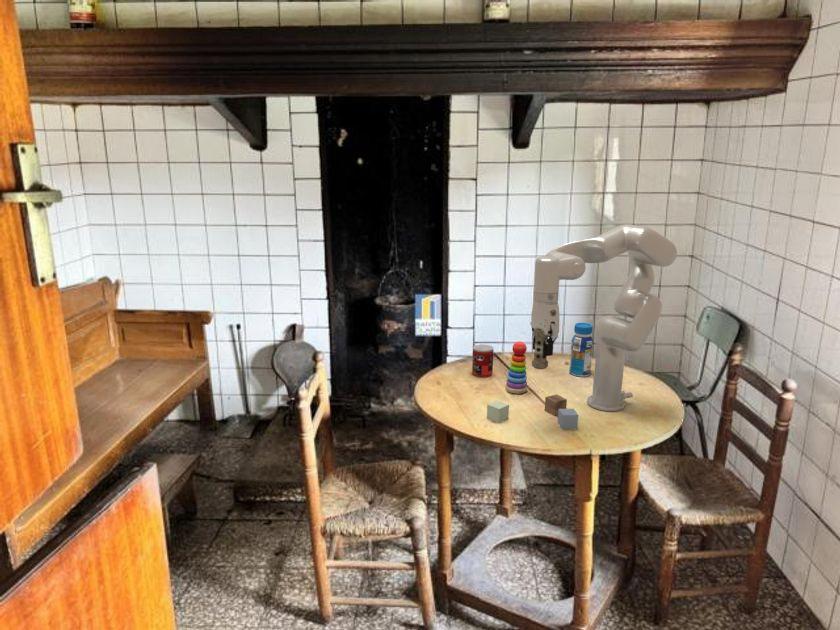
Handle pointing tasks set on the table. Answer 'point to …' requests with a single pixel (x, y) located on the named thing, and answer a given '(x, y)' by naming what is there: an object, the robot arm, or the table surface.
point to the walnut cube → (554, 404)
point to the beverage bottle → (581, 350)
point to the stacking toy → (517, 370)
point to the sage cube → (497, 411)
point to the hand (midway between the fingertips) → (542, 351)
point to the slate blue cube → (567, 418)
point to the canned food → (482, 360)
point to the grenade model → (539, 350)
